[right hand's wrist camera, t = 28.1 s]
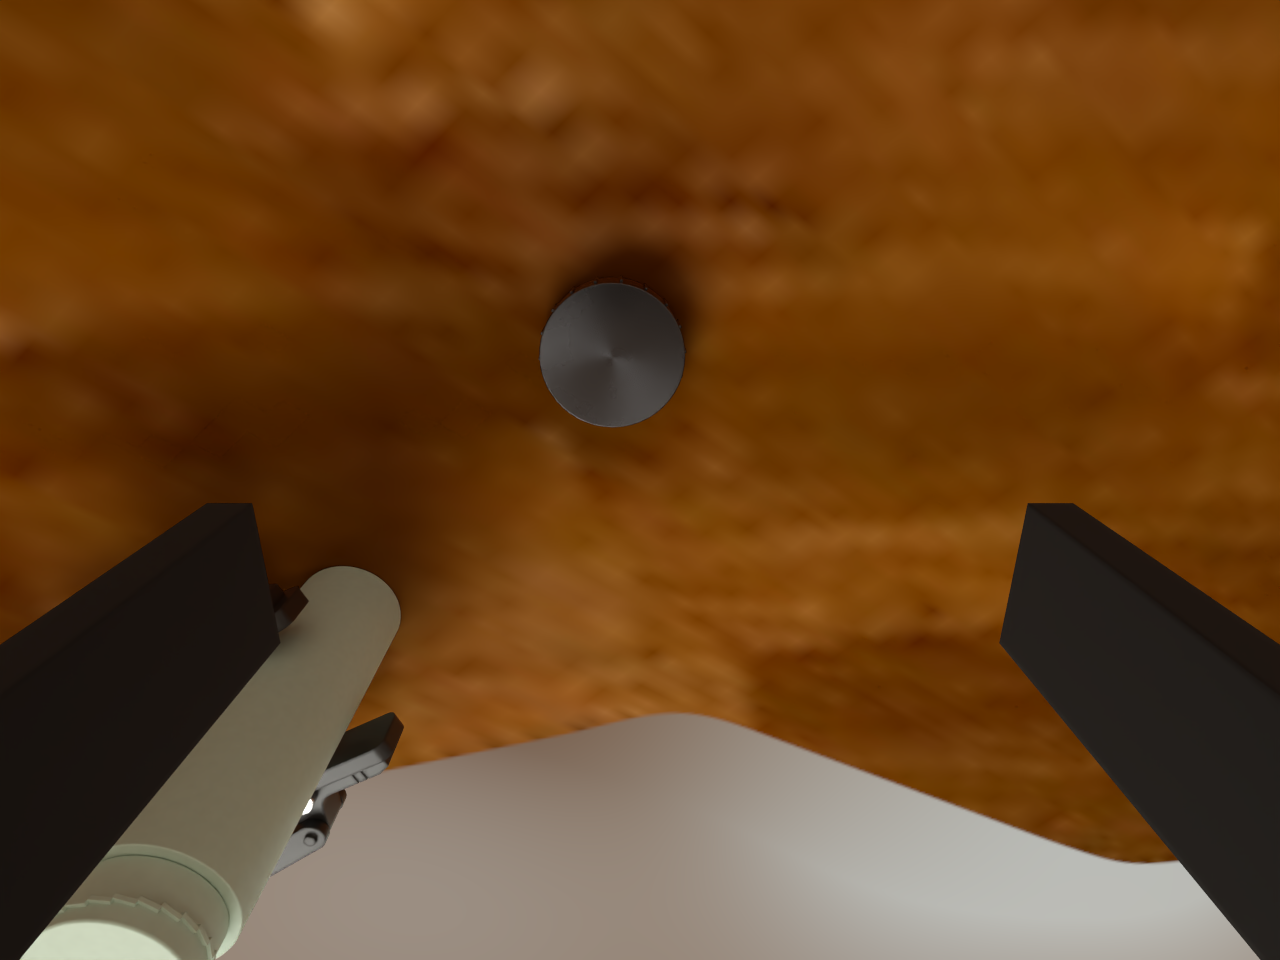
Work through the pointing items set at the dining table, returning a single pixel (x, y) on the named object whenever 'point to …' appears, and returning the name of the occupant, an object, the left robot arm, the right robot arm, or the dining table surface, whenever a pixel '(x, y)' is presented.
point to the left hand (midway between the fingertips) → (346, 672)
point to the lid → (612, 352)
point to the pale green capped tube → (234, 791)
